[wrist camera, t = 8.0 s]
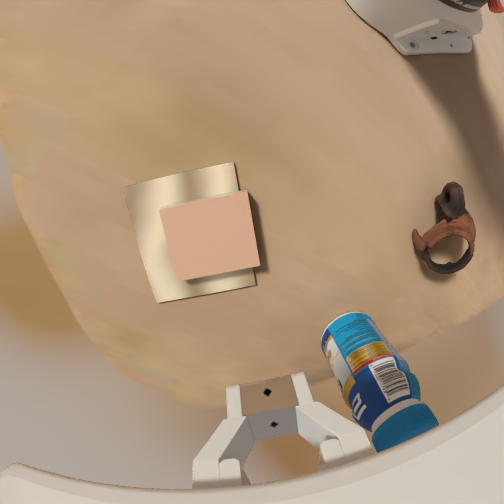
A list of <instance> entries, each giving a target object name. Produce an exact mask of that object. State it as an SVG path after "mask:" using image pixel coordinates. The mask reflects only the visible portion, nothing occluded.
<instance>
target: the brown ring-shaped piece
mask: <svg viewBox="0 0 504 504" xmlns="http://www.w3.org/2000/svg"><path fill="white" fill-rule="evenodd" d="M435 200H436V201H437V202H438V203H439V204H440V206H441V208H442V211H443V213H444V214H445V215H446V216H447V217H448V218H450V219H452V221H451V222H449V223H448V222H447V221H446V219H443V220H442V221H440V222H439V223H438V224H436V225H434V226H433V227H432V228H431V229H430V230H428V231H427V232H426V233H425V234H424V235H423V237H421V236H420V235H419V234H418V232H417V230H416V229H413V233H412V239H413V243H414V244H415V249H416V251H417V253H418V254H419V256H420V257H421V258H422V259H423V260H424V261H425V262H426V264H427V266H428V267H429V268H430V269H431V270H433V271H436V272H438V273H442V274H450V273H454V272H456V271H459V270H461V269H462V268H464V267H465V266H466V265H467V264H468V263H469V262H470V260H471V258H472V256H473V252H474V241H475V236H476V230H475V225H474V222H473V219H472V217H471V215H470V214H469V212H468V211H467V210H466V209H465V200H464V194H463V188H462V187H461V185H459V184H458V183H456V182H451V183H448V184H446V186H445V187H444V188H443V191H442V193H441V194H440V195H438V196H437V197H436V198H435ZM451 235H458V236H461V237H463V238H465V239H466V240H467V241H468V244H469V247H468V249H467V250H466V252H465V254H464V255H463V256H462V257H461V259H460V260H459V261H458V262H455V263H451V262H448V263H447V264H436V263H434V262H433V261H432V260H431V258H430V253H429V251H428V250H427V246H428V247H431V248H432V247H433V246H434V245H435V244H436V243H437V242H438V241H439V240H441V239H443V238H445V237H447V236H451Z"/></svg>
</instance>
